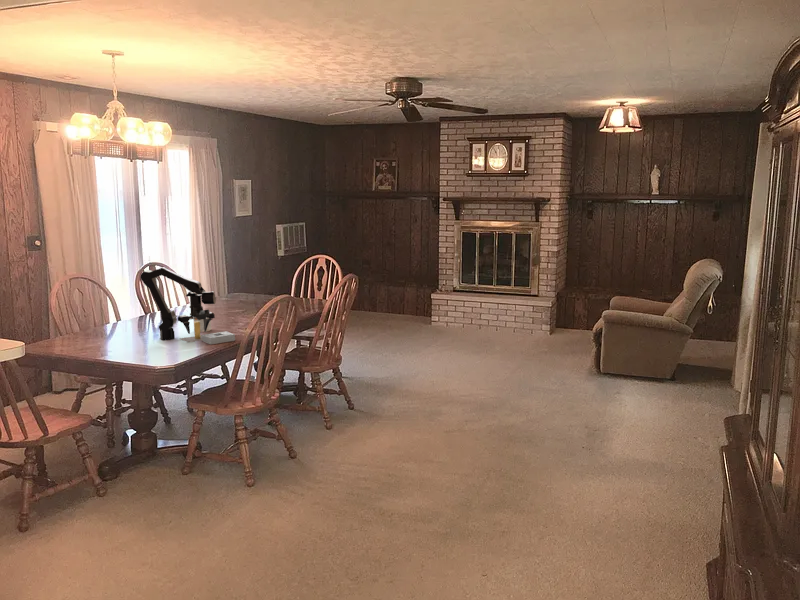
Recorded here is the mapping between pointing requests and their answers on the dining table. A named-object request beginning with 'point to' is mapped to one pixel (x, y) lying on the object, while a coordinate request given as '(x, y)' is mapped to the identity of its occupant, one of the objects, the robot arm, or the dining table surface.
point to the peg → (197, 330)
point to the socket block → (218, 337)
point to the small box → (203, 325)
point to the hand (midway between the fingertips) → (197, 332)
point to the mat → (191, 339)
